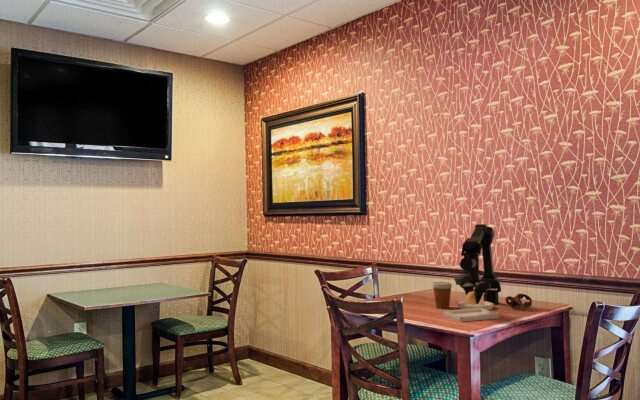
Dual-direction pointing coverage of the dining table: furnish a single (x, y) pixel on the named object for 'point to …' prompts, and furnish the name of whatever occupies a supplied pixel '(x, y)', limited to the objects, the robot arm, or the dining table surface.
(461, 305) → the bowl
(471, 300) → the ball
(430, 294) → the dining table surface
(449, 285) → the disposable coffee cup
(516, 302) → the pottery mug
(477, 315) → the tray
